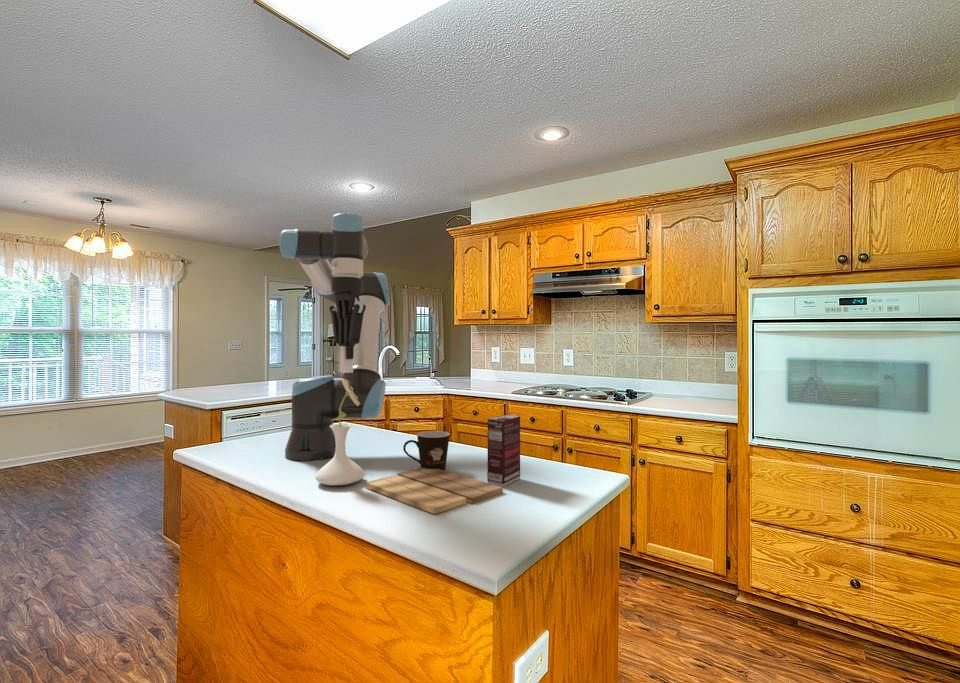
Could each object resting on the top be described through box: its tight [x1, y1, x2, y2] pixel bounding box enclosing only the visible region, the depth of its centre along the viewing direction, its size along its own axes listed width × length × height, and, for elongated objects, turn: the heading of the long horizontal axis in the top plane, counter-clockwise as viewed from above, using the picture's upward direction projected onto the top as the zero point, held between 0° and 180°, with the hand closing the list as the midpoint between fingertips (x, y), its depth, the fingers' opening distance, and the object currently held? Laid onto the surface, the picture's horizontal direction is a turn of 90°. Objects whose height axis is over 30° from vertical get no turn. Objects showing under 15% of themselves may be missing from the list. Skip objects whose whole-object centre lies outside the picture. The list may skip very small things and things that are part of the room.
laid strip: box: [396, 466, 504, 505], centre depth 112 cm, size 26×10×1 cm, turn 48°
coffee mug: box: [402, 430, 451, 471], centre depth 125 cm, size 12×9×10 cm
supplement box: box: [486, 414, 521, 488], centre depth 116 cm, size 9×5×16 cm, turn 146°
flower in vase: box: [315, 378, 365, 486], centre depth 114 cm, size 13×11×25 cm
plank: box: [364, 474, 467, 515], centre depth 105 cm, size 24×9×1 cm, turn 48°
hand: (346, 372), depth 117 cm, fingers closed
